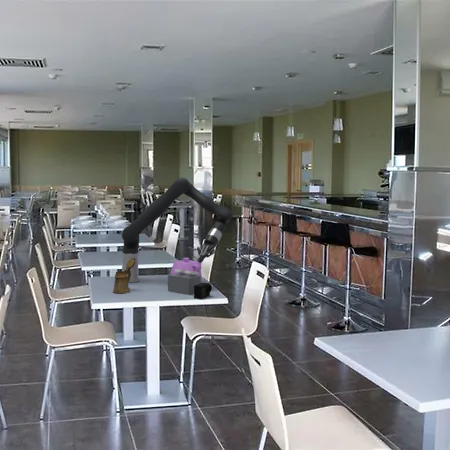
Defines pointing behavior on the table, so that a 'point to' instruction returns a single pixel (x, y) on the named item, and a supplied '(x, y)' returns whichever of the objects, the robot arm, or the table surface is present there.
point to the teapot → (186, 266)
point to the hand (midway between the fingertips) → (199, 261)
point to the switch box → (183, 283)
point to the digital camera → (202, 290)
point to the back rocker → (180, 271)
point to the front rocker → (191, 272)
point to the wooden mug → (123, 279)
